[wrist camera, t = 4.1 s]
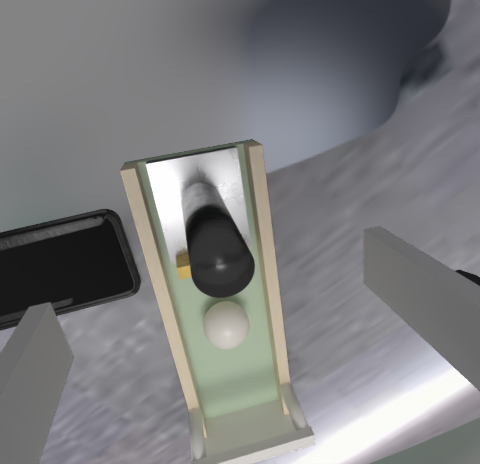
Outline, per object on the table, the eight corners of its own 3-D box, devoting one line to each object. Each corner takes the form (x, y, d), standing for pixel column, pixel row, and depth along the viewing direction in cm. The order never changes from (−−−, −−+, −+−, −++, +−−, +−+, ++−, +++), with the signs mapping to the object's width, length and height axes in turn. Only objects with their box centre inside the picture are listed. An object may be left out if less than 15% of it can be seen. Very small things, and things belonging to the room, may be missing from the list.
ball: (197, 298, 30) (201, 326, 27) (240, 288, 31) (250, 314, 27) (205, 334, 32) (210, 365, 28) (246, 323, 32) (257, 352, 29)
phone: (-94, 257, 25) (114, 210, 27) (-84, 251, 26) (116, 205, 28) (-40, 342, 28) (143, 294, 30) (-32, 333, 29) (144, 287, 31)
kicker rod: (146, 161, 25) (131, 214, 14) (234, 145, 26) (284, 183, 15) (172, 263, 28) (176, 368, 18) (249, 246, 29) (299, 337, 18)
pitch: (123, 162, 26) (104, 194, 18) (253, 139, 27) (290, 158, 19) (195, 417, 37) (203, 509, 29) (285, 392, 39) (317, 473, 30)
